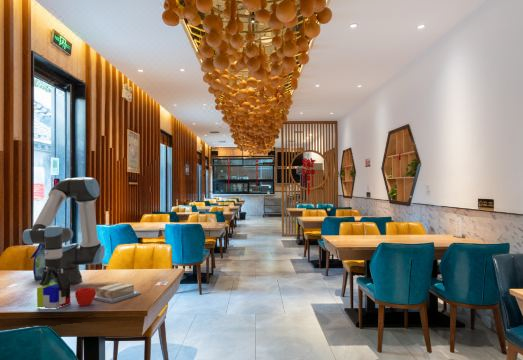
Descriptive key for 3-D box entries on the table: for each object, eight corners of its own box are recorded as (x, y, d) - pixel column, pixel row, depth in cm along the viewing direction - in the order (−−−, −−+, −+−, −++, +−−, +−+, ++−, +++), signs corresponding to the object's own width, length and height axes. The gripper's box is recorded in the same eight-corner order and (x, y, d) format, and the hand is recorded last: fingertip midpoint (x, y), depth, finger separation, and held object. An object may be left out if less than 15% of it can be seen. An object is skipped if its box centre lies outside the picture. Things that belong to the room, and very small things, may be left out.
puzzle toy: (55, 309, 177) (55, 288, 177) (37, 309, 179) (37, 287, 179) (70, 303, 186) (70, 283, 187) (52, 302, 188) (52, 282, 189)
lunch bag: (36, 274, 257) (36, 236, 258) (63, 272, 263) (63, 234, 263) (29, 281, 236) (28, 239, 237) (59, 278, 242) (58, 238, 243)
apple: (98, 301, 188) (98, 286, 188) (91, 307, 179) (90, 290, 179) (80, 302, 188) (80, 286, 188) (71, 307, 179) (71, 291, 179)
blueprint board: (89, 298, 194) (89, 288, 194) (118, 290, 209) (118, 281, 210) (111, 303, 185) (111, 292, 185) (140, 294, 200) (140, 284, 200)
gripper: (31, 257, 186) (32, 300, 186) (61, 260, 173) (61, 307, 173) (47, 254, 193) (47, 296, 192) (76, 258, 180) (76, 303, 179)
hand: (54, 301), depth 182 cm, fingers open, 13 cm apart
